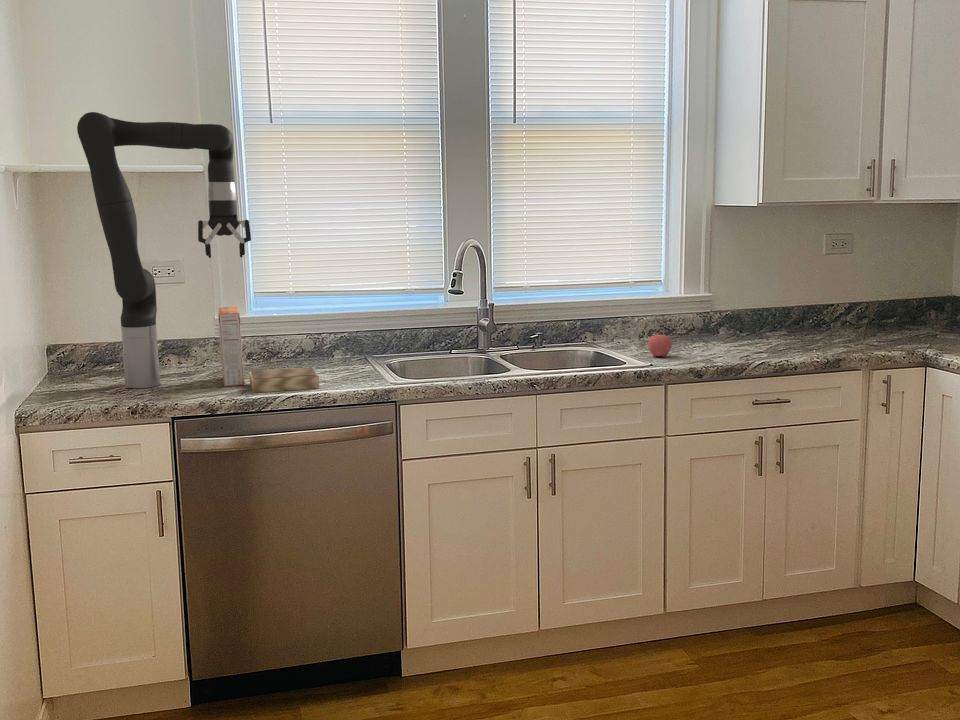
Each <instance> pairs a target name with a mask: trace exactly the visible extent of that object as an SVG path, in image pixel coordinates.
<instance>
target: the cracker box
mask: <svg viewBox="0 0 960 720" xmlns="http://www.w3.org/2000/svg"><path fill="white" fill-rule="evenodd" d="M217 311H218V312H217V313H218V316H217V318H218V319H217V320H218V332H219V333H218V334H219V347H220V361H221V372H222V380H223V381H222V382H223V386H224V387H225V388H226V387H239V386H245V377H244V363H243V361H244V359H243V343H242V331H241V328H242V327H241V315H240V311H239V308H238V306H230V307H229V306H228V307H227V306H225V307H219V308H218V310H217Z"/></svg>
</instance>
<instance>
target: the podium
mask: <svg viewBox="0 0 960 720" xmlns="http://www.w3.org/2000/svg"><path fill="white" fill-rule="evenodd" d="M249 385H250V388H251V391H252V393H253V394H254V393H256V394H257V393H267V392H270V393H271V392H282V391H283V392H284V391H295V390H296V391H297V390H298V391H299V390H311V389H313V390H314V389H320V375H319V374H318V372H317V371H316V369H315V368H314V367H313V366H307V367H306V366H305V367H291V368H278V369H275V368H274V369H263V370H251V371H249Z"/></svg>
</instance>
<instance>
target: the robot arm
mask: <svg viewBox="0 0 960 720" xmlns="http://www.w3.org/2000/svg"><path fill="white" fill-rule="evenodd" d="M76 128H77V129H76V132H77V135H78V139H79V141H80V144H81V147H82V149H83V152H84V155H85V158H86V161H87V163H88V167H89V171H90V177H91V183H92V189H93V192H94V193H93V194H94V198H95V202H96V207H97V211H98V216H99V218H100V219H99V220H100V222H101V223H100V224H101V226H102V231H103V233H104V237H105V240H106V245H107V247H108V250H109V254H110V255H109V256H110V258H111V265H112V274H113V280H114V289H115V290H116V293H117V295H118V296H119V297H120V298H121V301H122V304H121V305H122V310H121V315H120V326H121V327H120V328H121V340H122V343H121V344H122V350H123V351H122V353H123V354H122V365H123V375H124V388H125V389H146V388H154V387H157V386H160V385H161V373H160V361H159V359H160V358H159V346H158V332H157V320H156V319H157V311H158V309H157V307H158V306H157V288H156V281H155V278H154V276H153V275H152V273H151V272H150V271H149V270H148V269H145V268H144V267H143V263H142V261H141V257H140V253H139V249H138V223H137V222H138V221H137V213H136V210H135V209H136V208H135V205H134V201H133V198H132V194H131V191H130V189H129V186H128V184H127V181H126V180H125V178H124V176H123V173H122V172H121V169H120V167H119V164H118V159H117V156H116V149H115V147H123V146H124V147H126V146H142V147H143V146H144V147H153V148H160V149H161V148H163V149H175V150H193V149H195V150H208V164H207V177H208V178H207V179H208V185H207V187H208V188H207V198H208V217H209V218H208V220H201V219H199V220H198V221H197V241H198V242H199V243H202V244H204V246H205V247H204V248H205V249H204V250H205V256H206V257H208V258H209V259H211V258H212V248H211V244H210V243H211V242H212V240H213V239H214V238H215V237H216V236H218V237H221V236H228V237H230V236H232V235H233V236H234V237H235V238H236V239H237V240H238V241H239V244H238V245H239V246H238V247H239V249H238V250H239V257H240V258H243V256H245V254H246V249H245V248H246V247H245V244H246V243H248V242H250V241H252V235H251V228H250V227H251V226H250V220H248V219H244V220H239V219H238V206H237V205H238V204H237V188H236V184H235V168H234V136H233V134H232V132H231V130H230V129H229V128H228V127H226V126H224V125H222V124H219V123H217V124H215V123H214V124H213V123H198V124H197V123H189V122H187V123H186V122H173V121H153V122H152V121H151V122H146V121H145V122H138V121H137V122H135V121H127V120H123V119H122V120H121V119H118V118H113V117H109V116H108V115H105V114H103V113H100V112H95V111H90V112H87V113H84V114H82V116H81V117H80V118H79V120H78V122H77V127H76ZM207 225H208V226H209V229H211V231H210V233H209V235H208V236H207V238H204V237H203V236H204V229H206V227H207ZM239 226H241V227H242V228H244V230H245V237H242V236H241V235H240V233H239V232H238V231H237V229H238V227H239Z"/></svg>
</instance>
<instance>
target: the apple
mask: <svg viewBox="0 0 960 720" xmlns="http://www.w3.org/2000/svg"><path fill="white" fill-rule="evenodd" d="M672 343H673V342H672V339H671V338H670V337H669V336H668V335H666V334H661V333H660V332H658V334H654V335H652V336H650V338H649V340H648V343H647V344H648V345H647V346H648V349H649V352H650V354H652V356H654V355H655V356H654V357H656V356H664V357H666V356H667V355H668V354H669V353H670V352H671V348H672ZM665 355H666V356H665Z"/></svg>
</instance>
